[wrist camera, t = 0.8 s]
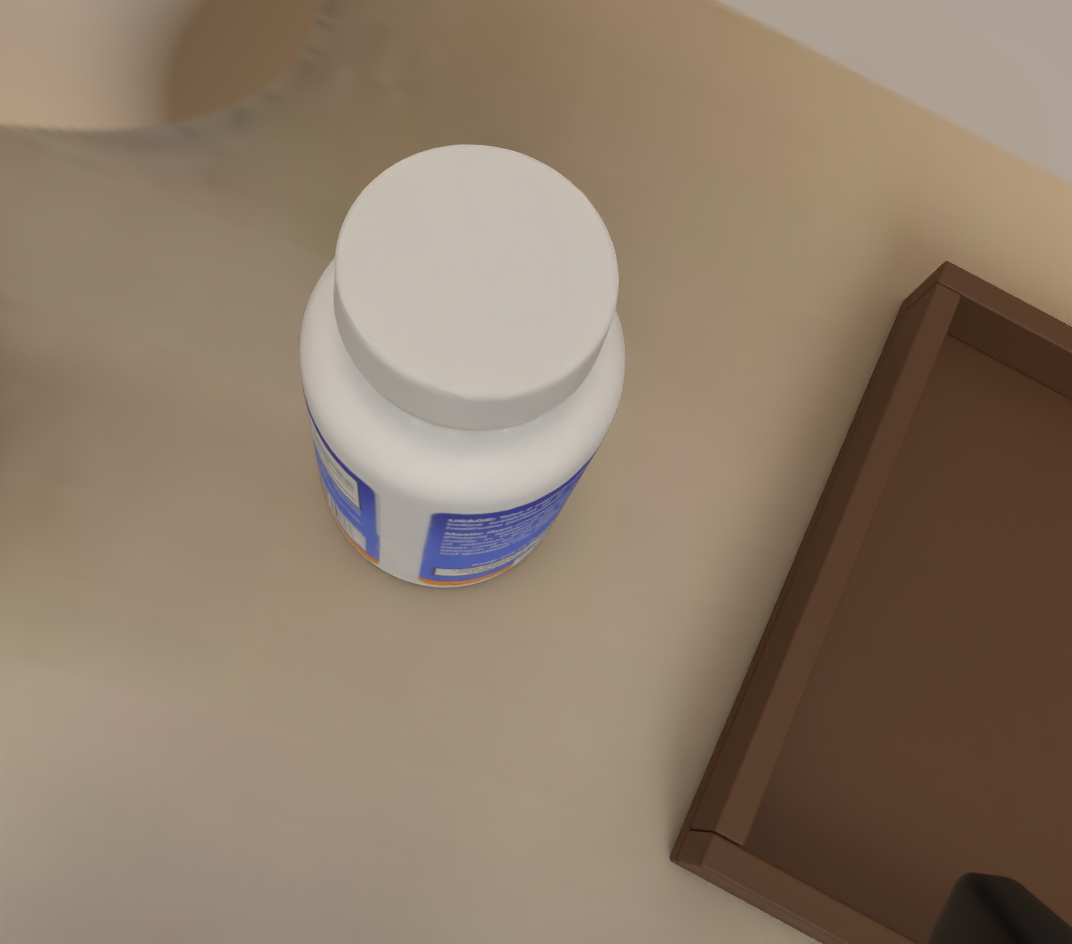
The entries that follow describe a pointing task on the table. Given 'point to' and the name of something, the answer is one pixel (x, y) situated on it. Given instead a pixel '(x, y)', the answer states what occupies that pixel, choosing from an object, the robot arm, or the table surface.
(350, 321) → the pill bottle
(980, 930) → the robot arm
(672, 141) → the table surface
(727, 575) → the table surface
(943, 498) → the tray
